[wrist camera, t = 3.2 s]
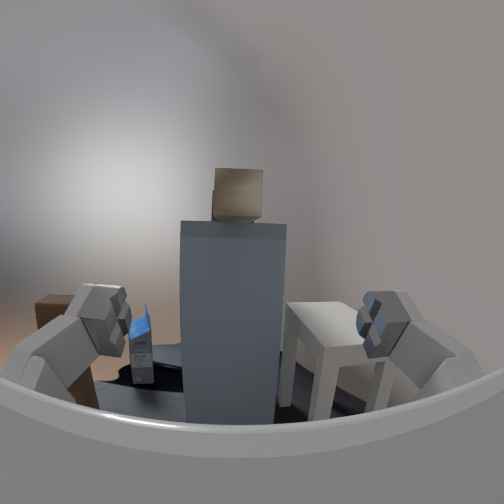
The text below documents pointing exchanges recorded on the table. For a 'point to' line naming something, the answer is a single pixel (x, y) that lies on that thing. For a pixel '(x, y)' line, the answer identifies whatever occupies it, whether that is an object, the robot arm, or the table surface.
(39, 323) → the wooden block
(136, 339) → the label tape box
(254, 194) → the long tan plank
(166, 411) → the table surface
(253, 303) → the tall blue-grey box
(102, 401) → the table surface
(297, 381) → the table surface
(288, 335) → the stool
